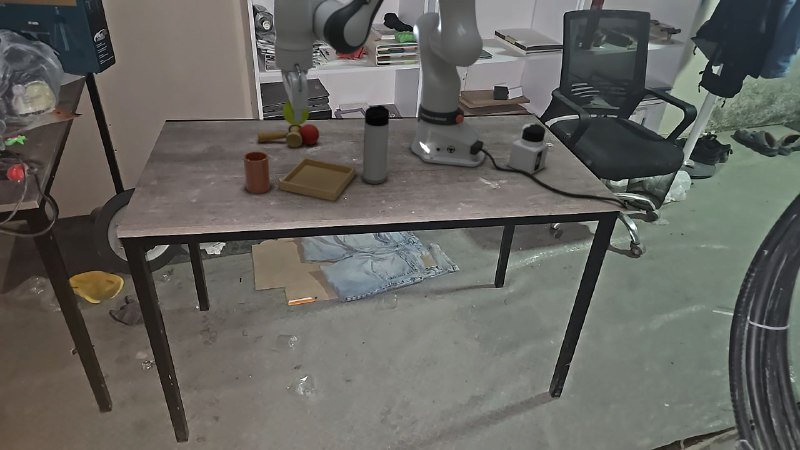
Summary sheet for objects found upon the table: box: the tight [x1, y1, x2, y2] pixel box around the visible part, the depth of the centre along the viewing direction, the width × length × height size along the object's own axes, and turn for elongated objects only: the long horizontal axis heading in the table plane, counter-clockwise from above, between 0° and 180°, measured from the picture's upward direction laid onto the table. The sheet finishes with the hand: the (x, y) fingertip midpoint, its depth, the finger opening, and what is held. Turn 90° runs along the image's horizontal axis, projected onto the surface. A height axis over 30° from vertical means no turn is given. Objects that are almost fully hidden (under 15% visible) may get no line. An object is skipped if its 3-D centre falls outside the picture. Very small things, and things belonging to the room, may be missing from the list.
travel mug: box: [362, 104, 390, 185], centre depth 149 cm, size 6×7×20 cm
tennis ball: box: [282, 99, 310, 125], centre depth 138 cm, size 6×6×6 cm
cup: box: [243, 150, 271, 194], centre depth 143 cm, size 6×6×9 cm
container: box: [508, 123, 550, 175], centre depth 163 cm, size 8×8×13 cm
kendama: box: [257, 123, 320, 148], centre depth 168 cm, size 8×6×18 cm
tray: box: [279, 157, 356, 202], centre depth 150 cm, size 15×15×2 cm
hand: (295, 114), depth 138 cm, fingers closed on tennis ball, 6 cm apart
